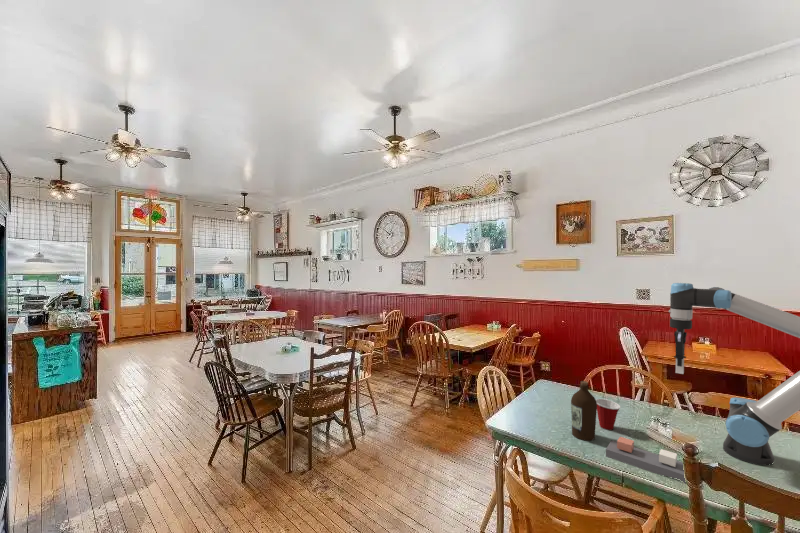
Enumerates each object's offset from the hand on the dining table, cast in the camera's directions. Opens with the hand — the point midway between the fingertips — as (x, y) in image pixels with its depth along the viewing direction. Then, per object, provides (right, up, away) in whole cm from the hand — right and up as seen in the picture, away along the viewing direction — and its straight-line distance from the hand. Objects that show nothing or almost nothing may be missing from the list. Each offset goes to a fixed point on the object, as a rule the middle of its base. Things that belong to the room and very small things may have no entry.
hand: (679, 373), depth 153 cm
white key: (-18, -29, -17) cm, 38 cm away
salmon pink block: (-28, -29, -7) cm, 41 cm away
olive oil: (-37, -32, +10) cm, 50 cm away
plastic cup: (-21, -32, +18) cm, 42 cm away
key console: (-23, -33, -12) cm, 42 cm away
